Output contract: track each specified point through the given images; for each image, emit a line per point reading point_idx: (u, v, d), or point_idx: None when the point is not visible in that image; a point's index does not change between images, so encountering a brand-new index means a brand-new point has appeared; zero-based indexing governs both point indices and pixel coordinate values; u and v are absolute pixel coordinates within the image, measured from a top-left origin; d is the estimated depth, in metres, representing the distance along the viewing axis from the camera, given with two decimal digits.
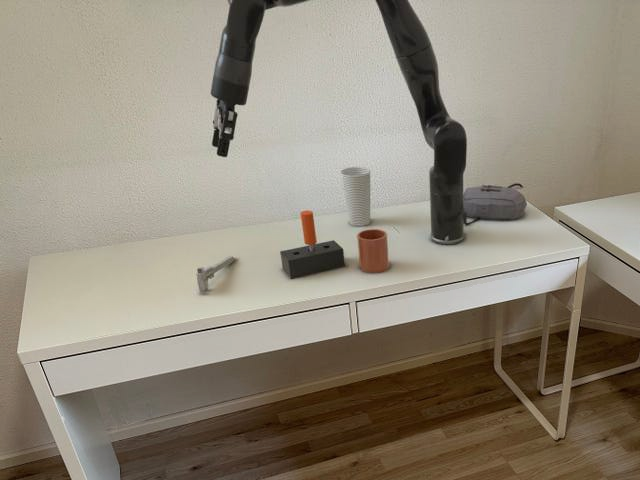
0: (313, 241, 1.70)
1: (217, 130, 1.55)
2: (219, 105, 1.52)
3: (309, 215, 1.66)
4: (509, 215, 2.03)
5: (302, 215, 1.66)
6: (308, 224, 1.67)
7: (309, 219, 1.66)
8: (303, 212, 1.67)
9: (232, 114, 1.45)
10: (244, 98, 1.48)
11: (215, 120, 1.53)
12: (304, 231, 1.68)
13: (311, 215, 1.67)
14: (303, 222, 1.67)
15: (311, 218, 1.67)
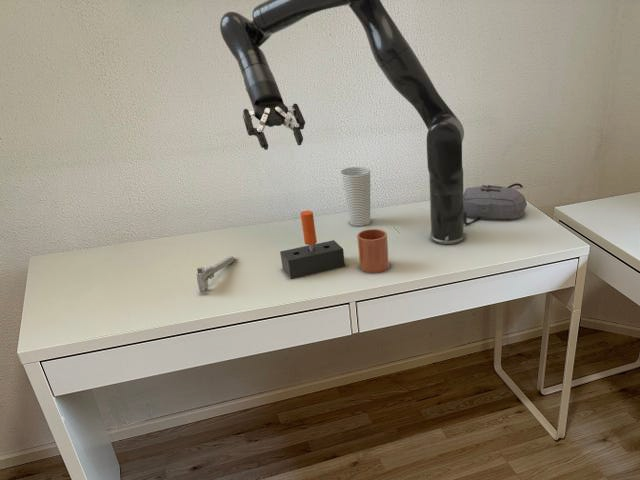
0: (313, 241, 1.70)
1: (293, 131, 1.70)
2: None
3: (309, 215, 1.66)
4: (509, 215, 2.03)
5: (302, 215, 1.66)
6: (308, 224, 1.67)
7: (309, 219, 1.66)
8: (303, 212, 1.67)
9: (243, 113, 1.65)
10: (257, 93, 1.65)
11: (285, 126, 1.71)
12: (304, 231, 1.68)
13: (311, 215, 1.67)
14: (303, 222, 1.67)
15: (311, 218, 1.67)
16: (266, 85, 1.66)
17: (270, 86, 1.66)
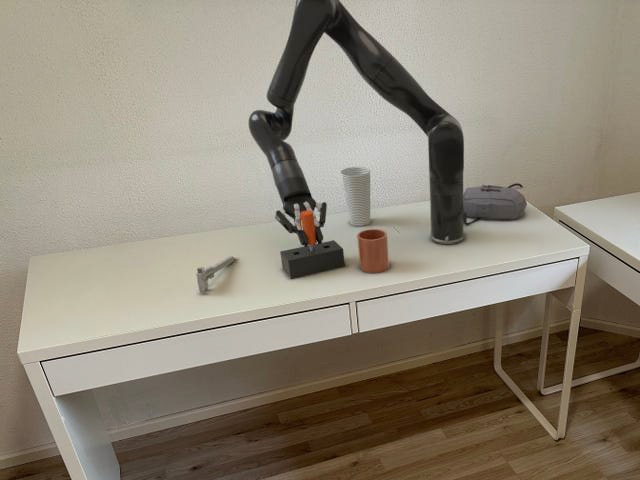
0: (313, 241, 1.70)
1: None
2: None
3: (309, 215, 1.66)
4: (509, 215, 2.03)
5: (302, 215, 1.66)
6: (308, 224, 1.67)
7: (309, 219, 1.66)
8: (303, 212, 1.67)
9: (276, 215, 1.68)
10: (286, 189, 1.68)
11: None
12: (304, 231, 1.68)
13: (311, 215, 1.67)
14: (303, 222, 1.67)
15: (311, 218, 1.67)
16: (295, 181, 1.68)
17: (299, 182, 1.69)
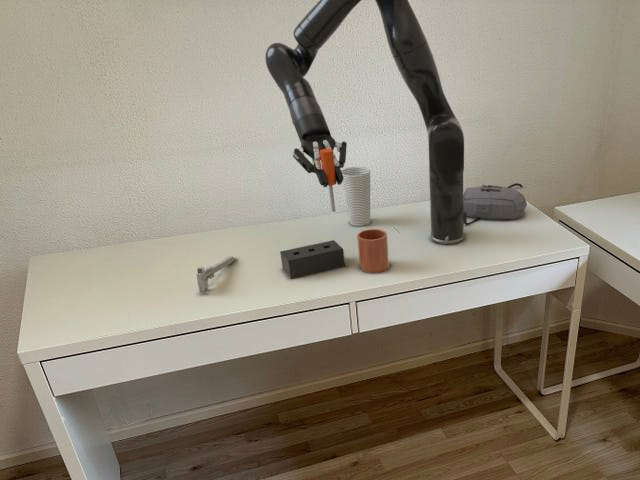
0: (333, 181, 1.62)
1: None
2: None
3: (329, 153, 1.58)
4: (509, 215, 2.03)
5: (322, 153, 1.58)
6: (328, 162, 1.59)
7: (329, 157, 1.58)
8: (322, 150, 1.59)
9: (294, 153, 1.60)
10: (305, 126, 1.60)
11: None
12: (324, 170, 1.60)
13: (331, 153, 1.59)
14: (323, 160, 1.59)
15: (331, 156, 1.59)
16: (314, 118, 1.60)
17: (318, 119, 1.61)
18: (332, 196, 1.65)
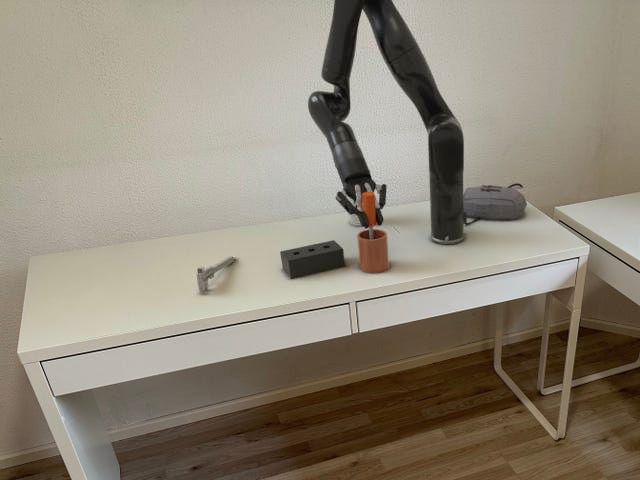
0: (373, 223, 1.68)
1: None
2: None
3: (371, 196, 1.64)
4: (509, 215, 2.03)
5: (364, 196, 1.64)
6: (370, 205, 1.65)
7: (371, 200, 1.65)
8: (365, 193, 1.65)
9: (337, 196, 1.66)
10: (348, 170, 1.66)
11: None
12: (365, 212, 1.66)
13: (373, 196, 1.65)
14: (365, 203, 1.65)
15: (373, 199, 1.65)
16: (356, 162, 1.66)
17: (360, 163, 1.67)
18: (372, 236, 1.71)
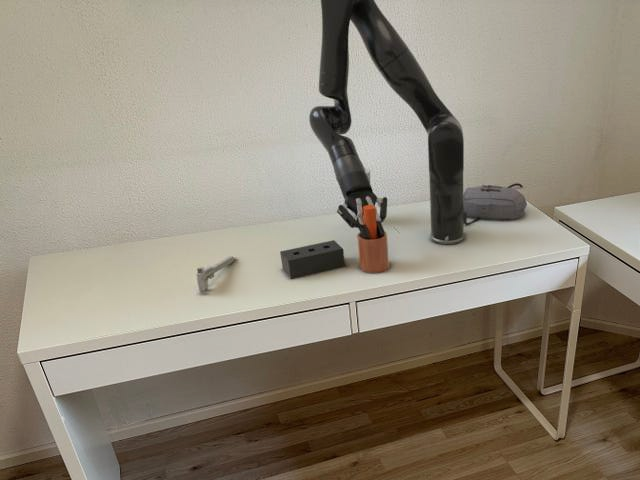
0: (374, 236, 1.70)
1: None
2: None
3: (372, 209, 1.66)
4: (509, 215, 2.03)
5: (365, 209, 1.66)
6: (371, 219, 1.67)
7: (372, 213, 1.67)
8: (366, 206, 1.67)
9: (338, 209, 1.68)
10: (349, 184, 1.68)
11: None
12: (366, 225, 1.68)
13: (374, 209, 1.67)
14: (366, 216, 1.67)
15: (374, 212, 1.67)
16: (357, 176, 1.68)
17: (361, 176, 1.69)
18: None
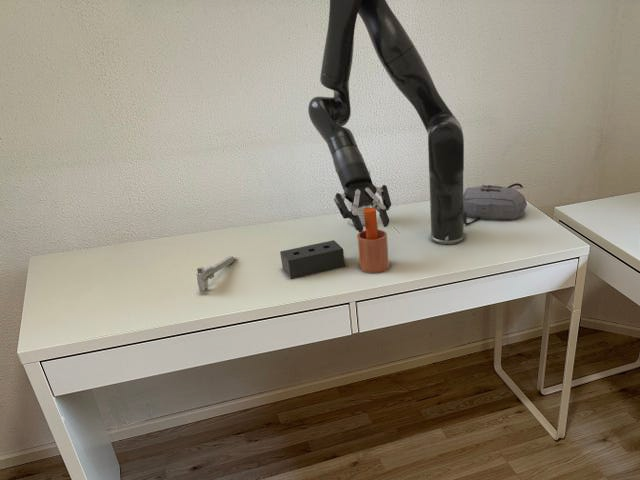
0: (375, 238, 1.70)
1: (379, 212, 1.71)
2: None
3: (372, 212, 1.66)
4: (509, 215, 2.03)
5: (366, 212, 1.66)
6: (372, 221, 1.68)
7: (372, 216, 1.67)
8: (366, 209, 1.67)
9: (335, 197, 1.66)
10: (348, 175, 1.66)
11: (372, 206, 1.71)
12: (367, 228, 1.69)
13: (374, 212, 1.67)
14: (366, 219, 1.67)
15: (374, 215, 1.67)
16: (357, 167, 1.67)
17: (360, 168, 1.67)
18: None
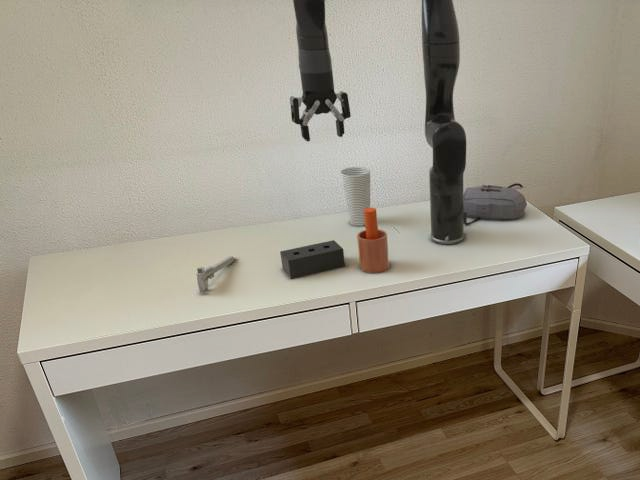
0: (375, 238, 1.70)
1: (336, 120, 1.68)
2: None
3: (373, 212, 1.67)
4: (509, 215, 2.03)
5: (366, 212, 1.66)
6: (372, 221, 1.68)
7: (373, 215, 1.67)
8: (366, 209, 1.67)
9: (292, 100, 1.60)
10: (311, 85, 1.58)
11: (329, 110, 1.67)
12: (367, 228, 1.69)
13: (375, 212, 1.67)
14: (366, 219, 1.67)
15: (374, 215, 1.67)
16: (322, 79, 1.58)
17: (326, 80, 1.58)
18: None
